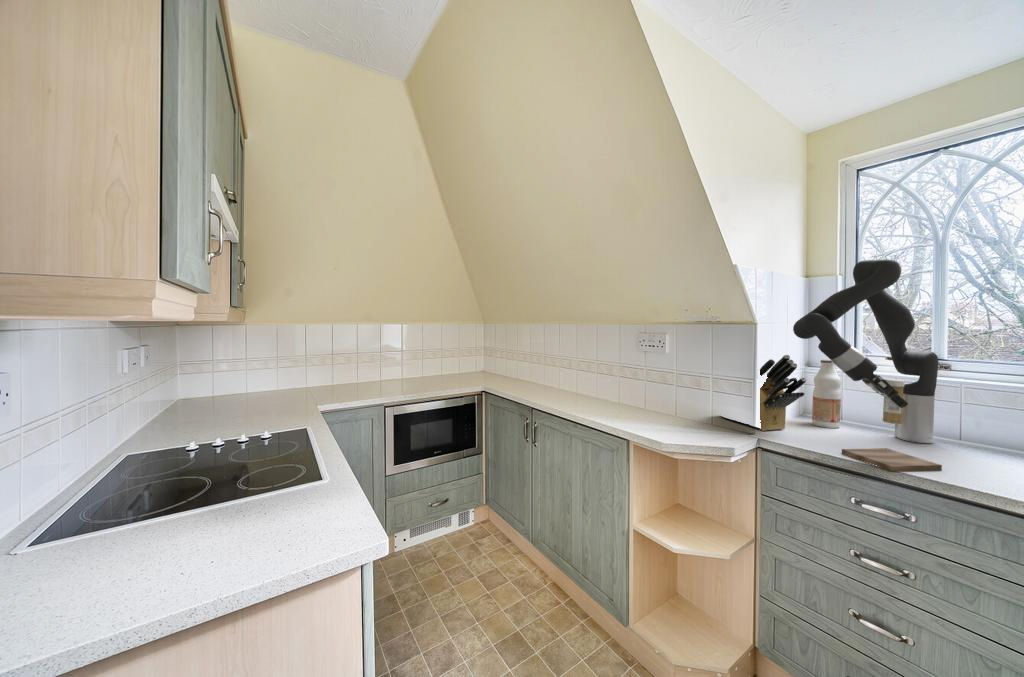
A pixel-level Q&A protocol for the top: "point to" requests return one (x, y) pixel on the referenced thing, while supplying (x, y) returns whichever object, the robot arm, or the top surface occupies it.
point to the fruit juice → (826, 396)
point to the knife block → (777, 392)
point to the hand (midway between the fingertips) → (901, 404)
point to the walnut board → (891, 459)
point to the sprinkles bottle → (890, 409)
